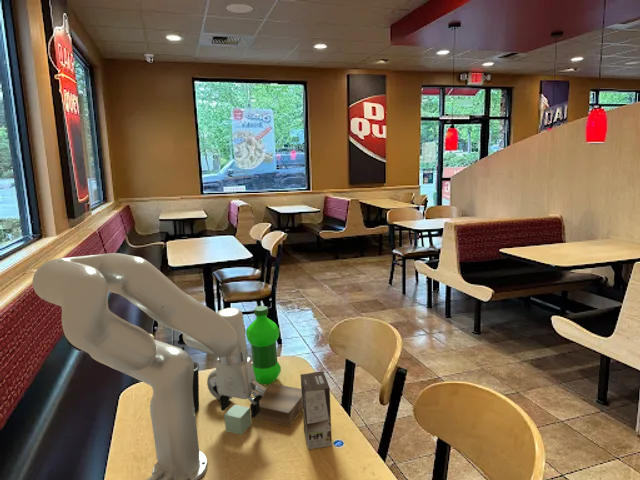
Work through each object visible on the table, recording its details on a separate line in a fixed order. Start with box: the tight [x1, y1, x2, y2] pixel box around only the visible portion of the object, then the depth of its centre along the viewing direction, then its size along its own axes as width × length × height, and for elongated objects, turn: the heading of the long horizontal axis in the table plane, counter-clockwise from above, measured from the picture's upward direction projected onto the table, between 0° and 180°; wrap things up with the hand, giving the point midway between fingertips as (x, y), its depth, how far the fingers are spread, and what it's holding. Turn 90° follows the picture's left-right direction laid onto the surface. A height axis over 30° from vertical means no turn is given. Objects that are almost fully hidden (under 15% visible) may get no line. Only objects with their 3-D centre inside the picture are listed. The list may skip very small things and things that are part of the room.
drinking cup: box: [181, 346, 200, 414], centre depth 128 cm, size 8×8×20 cm
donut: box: [206, 369, 233, 401], centre depth 134 cm, size 10×4×10 cm, turn 68°
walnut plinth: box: [251, 383, 303, 427], centre depth 128 cm, size 12×12×4 cm
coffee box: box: [299, 370, 333, 450], centre depth 114 cm, size 9×6×16 cm
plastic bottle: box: [245, 305, 282, 386], centre depth 142 cm, size 10×10×25 cm
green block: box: [224, 404, 252, 436], centre depth 121 cm, size 5×5×5 cm
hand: (240, 411), depth 121 cm, fingers open, 9 cm apart
